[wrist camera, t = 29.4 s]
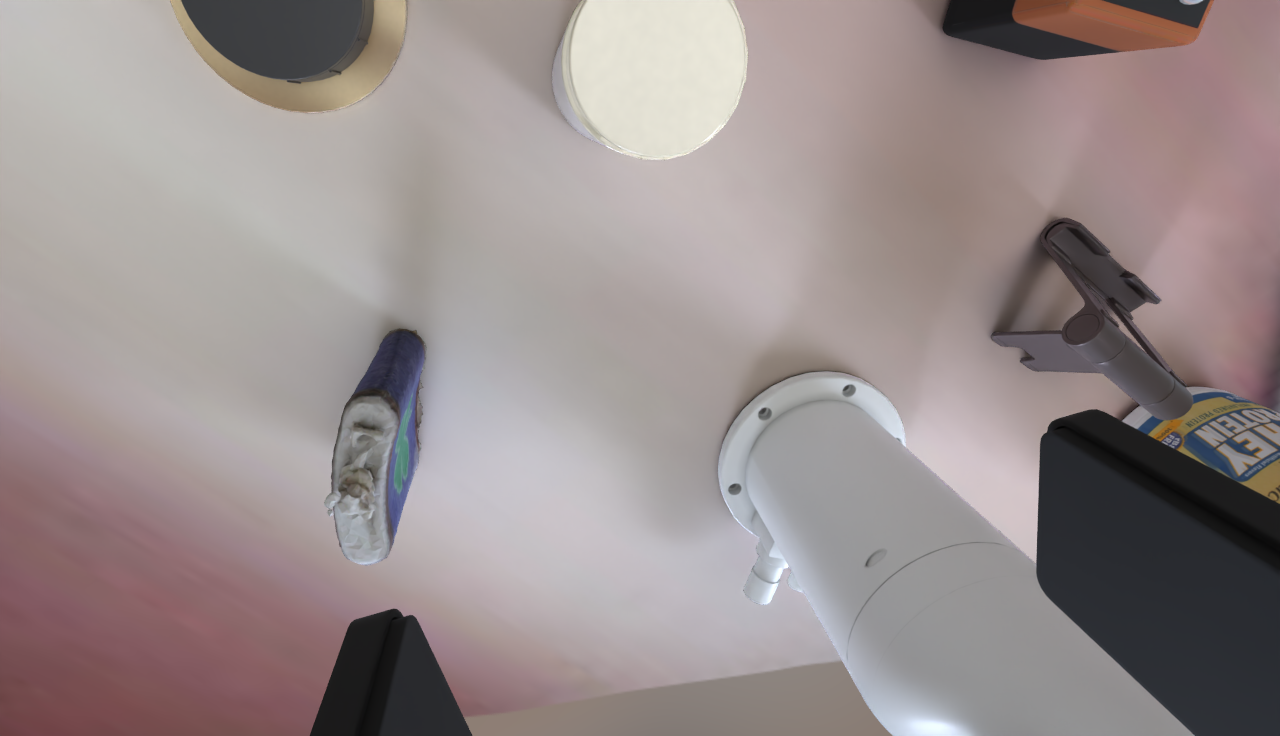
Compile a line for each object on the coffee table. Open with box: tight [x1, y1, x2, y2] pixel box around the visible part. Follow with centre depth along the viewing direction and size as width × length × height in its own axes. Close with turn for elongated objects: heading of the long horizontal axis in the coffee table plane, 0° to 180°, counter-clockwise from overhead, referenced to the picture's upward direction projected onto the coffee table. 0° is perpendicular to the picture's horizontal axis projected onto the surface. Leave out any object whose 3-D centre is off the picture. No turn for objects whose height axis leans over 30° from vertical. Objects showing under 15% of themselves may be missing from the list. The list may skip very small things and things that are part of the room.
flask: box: [324, 329, 426, 565], centre depth 32 cm, size 9×3×11 cm, turn 170°
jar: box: [552, 0, 748, 160], centre depth 27 cm, size 6×6×13 cm
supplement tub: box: [1122, 387, 1280, 504], centre depth 40 cm, size 12×12×17 cm
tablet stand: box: [991, 218, 1193, 420], centre depth 38 cm, size 9×8×8 cm
